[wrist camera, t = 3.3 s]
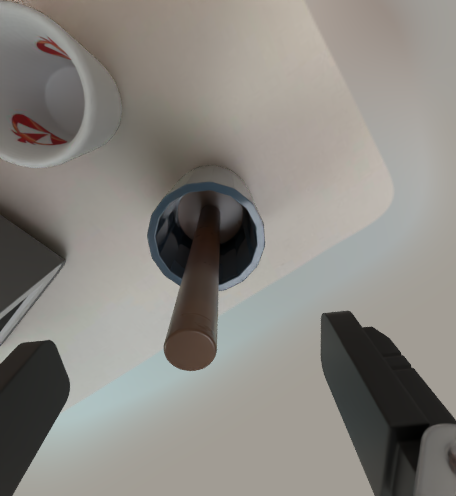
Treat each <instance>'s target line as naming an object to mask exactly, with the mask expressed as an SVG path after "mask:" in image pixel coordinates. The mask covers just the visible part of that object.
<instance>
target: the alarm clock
mask: <svg viewBox="0 0 456 496" xmlns="http://www.w3.org/2000/svg"><path fill="white" fill-rule="evenodd" d="M65 261H66V260H65V259H63V258H62V257H60V256H59V255H57V254H56V253H54V252H53V251H52V250H50V249H49V248H47V247H46V246H44V245H43V244H42V243H40V242H39V241H37V240H36V239H34V238H33V237H32V236H30V235H29V234H27V233H26V232H24V231H23V230H22V229H20V228H19V227H17V226H16V225H14V224H13V223H12V222H10V221H9V220H7V219H6V218H4V217H3V216H2V215H0V346H1V345H2V344H3V342H4V341H5V340H6V339H7V338H8V336H9V335H10V334H11V333H12V331H13V330H14V329H15V327H16V326H17V325H18V324H19V322H20V321H21V320H22V319H23V317H24V316H25V315H26V313H27V312H28V311H29V310H30V308H31V307H32V306H33V305H34V303H35V302H36V301H37V299H38V298H39V297H40V296H41V294H42V293H43V292H44V291H45V289H46V288H47V287H48V285H49V284H50V283H51V282H52V280H53V279H54V278H55V277H56V275H57V274H58V273H59V271H60V270H61V269H62V267H63V266H64V264H65Z"/></svg>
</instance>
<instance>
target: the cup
mask: <svg viewBox="0 0 456 496" xmlns="http://www.w3.org/2000/svg"><path fill="white" fill-rule="evenodd" d="M121 115H122V103H121V97H120V94H119V90H118V88H117V86H116V83H115V81H114V80H113V78H112V76H111V75H110V73H109V72H108V71H107V69H106V68H105V67H104V66H103V65H102V64H101V63H100V62H99V61H98V60H97V59H96V58H95V57H94V56H92V55H91V54H90V53H89V52H88V51H87V50H86V49H85V48H84V47H83V46H81V45H80V44H79V43H78V42H77V41H76V40H75V39H74V38H73V37H72V36H70V35H69V34H68V33H67V32H66V31H65V30H64V29H63V28H62V27H60V26H59V25H58V24H57V23H56V22H54V21H53V20H52V19H50V18H49V17H47V16H46V15H44V14H43V13H41V12H39V11H37V10H35V9H33V8H31V7H28V6H25V5H23V4H19V3H15V2H10V1H0V159H3V160H5V161H7V162H10V163H12V164H15V165H19V166H23V167H30V168H47V167H53V166H57V165H60V164H63V163H65V162H67V161H70V160H72V159H74V158H76V157H79V156H81V155H83V154H85V153H88V152H90V151H92V150H94V149H97V148H99V147H101V146H102V145H104V144H105V143H107V142H108V141H109V140H110V139H111V138H112V137H113V135H114V134H115V133H116V131H117V129H118V127H119V124H120V120H121Z"/></svg>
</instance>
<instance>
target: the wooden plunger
mask: <svg viewBox="0 0 456 496" xmlns="http://www.w3.org/2000/svg"><path fill="white" fill-rule="evenodd" d="M178 220H179V224H180V226H181V228H182V230H183V231H184V233H185V234H186V235H187V236H188V237H189V238H191V239H192V240H193V242H192V245H191V249H190V253H189V256H188V260H187V264H186V267H185V271H184V274H183V278H182V282H181V285H180V289H179V292H178V296H177V300H176V303H175V307H174V311H173V314H172V318H171V321H170V325H169V329H168V332H167V336H166V339H165V343H164V353H165V356H166V358H167V360H168V361H169V362H170V363H171V364H172V365H173V366H175V367H177V368H179V369H182V370H187V371H196V370H200V369H203V368H205V367H206V366H208V365H209V364H210V363H211V362H212V361H213V359H214V358H215V355H216V351H217V320H218V287H219V254H220V244H222V243H225V242H227V241H228V240H230V239H231V238H232V237H234V236H235V235H236V233H237V232H238V231H239V229H240V227H241V224H242V221H243V207H242V205H241V204H239V203H238V202H237V201H236V200H234V199H233V198H232V197H231V196H228V195H225V194H221V193H218V192H214V191H211V190H208V191H199V192H190V193H187V194H186V195H184V196H182V198H181V200H180V202H179V205H178Z"/></svg>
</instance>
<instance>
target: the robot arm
mask: <svg viewBox="0 0 456 496" xmlns="http://www.w3.org/2000/svg"><path fill="white" fill-rule="evenodd" d="M321 362H322V368H323V372H324V375H325V378H326V381H327V383H328V385H329V387H330V390H331V392H332V395H333V397H334V399H335V402H336V404H337V407H338V409H339V411H340V414H341V416H342V419H343V421H344V423H345V426H346V428H347V430H348V433H349V435H350V438H351V440H352V442H353V445H354V447H355V450H356V452H357V454H358V457H359V459H360V462H361V464H362V466H363V469H364V471H365V473H366V476H367V478H368V481H369V483H370V485H371V488H372V490H373V492H374V495H375V496H456V420H455V419H454V417H453V416H452V415H451V414H450V413H449V411H448V410H447V409H446V408H445V406H444V405H443V404H442V403H441V401H440V400H439V399H438V398H437V396H436V395H435V394H434V393H433V392H432V390H431V389H430V388H429V387H428V385H427V384H426V383H425V382H424V380H423V379H422V378H421V377H420V376H419V374H418V373H417V372H416V371H415V369H414V368H411V364H410V363H409V362H408V361H407V359H406V358H405V357H404V356H403V355H401V352H400V351H399V350H398V348H397V347H396V346H395V345H394V343H393V342H392V341H391V340H390V338H388V337H387V336H385V335H384V334H382V333H381V332H379V331H378V330H376V329H375V328H373V327H363V328H362V327H361V325H360V324H359V322H358V321H357V320H356V318H355V317H354V315H353V314H352V313H351V312H350V311H341V312H331V313H323V314H322V316H321ZM69 391H70V382H69V378H68V375H67V373H66V370H65V368H64V365H63V363H62V360H61V358H60V355H59V352H58V350H57V347H56V345H55V344H54V342H52V341H50V340H46V341H36V342H26V343H21V344H20V345H18V346H17V347H16V348H15V349H14V350H13V351H12V352H11V353H10V355H9V356H8V357H7V358H6V359H5V360H4V361H3V362H2V363H1V364H0V496H12V495H13V493H14V492H15V490H16V488H17V486H18V485H19V483H20V481H21V479H22V478H23V476H24V474H25V472H26V471H27V469H28V467H29V466H30V464H31V462H32V460H33V459H34V457H35V455H36V453H37V451H38V450H39V448H40V446H41V445H42V443H43V441H44V439H45V438H46V436H47V434H48V433H49V431H50V429H51V427H52V426H53V424H54V422H55V420H56V419H57V417H58V415H59V413H60V412H61V410H62V408H63V407H64V405H65V403H66V401H67V399H68V396H69Z"/></svg>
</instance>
